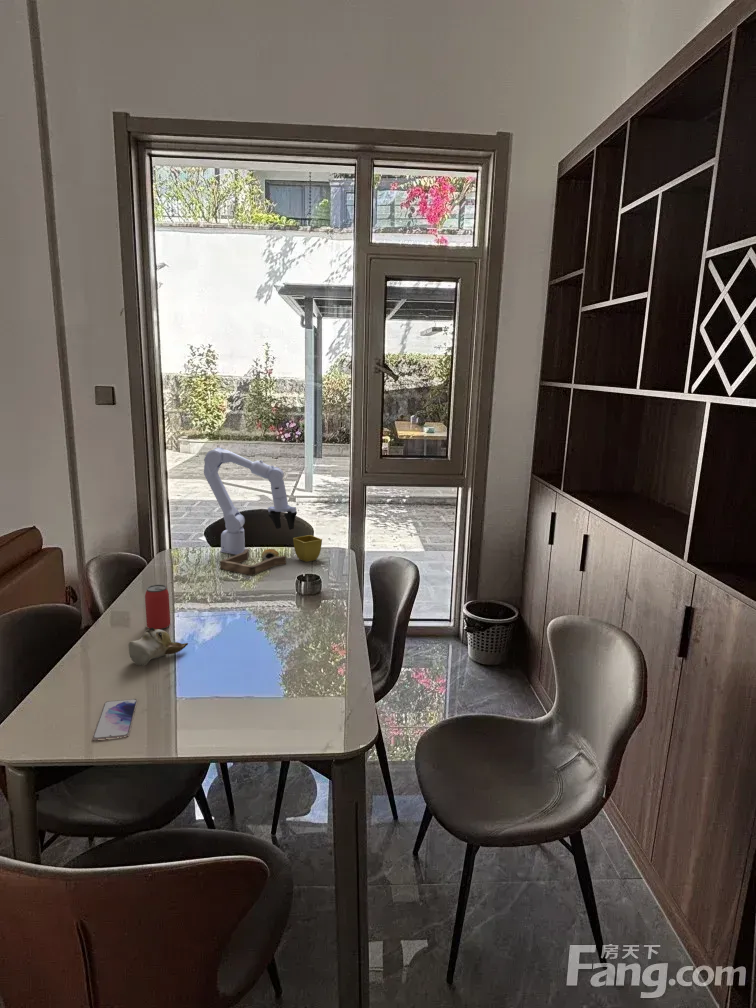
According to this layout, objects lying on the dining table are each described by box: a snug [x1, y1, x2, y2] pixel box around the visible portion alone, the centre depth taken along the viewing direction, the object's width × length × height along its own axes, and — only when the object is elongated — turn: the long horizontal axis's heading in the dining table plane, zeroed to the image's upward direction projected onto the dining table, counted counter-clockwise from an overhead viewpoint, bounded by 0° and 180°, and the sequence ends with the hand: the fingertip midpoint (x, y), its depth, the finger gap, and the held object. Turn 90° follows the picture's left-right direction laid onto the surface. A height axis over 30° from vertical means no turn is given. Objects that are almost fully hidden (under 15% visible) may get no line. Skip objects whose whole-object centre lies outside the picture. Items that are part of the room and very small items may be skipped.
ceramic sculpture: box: [128, 628, 189, 666], centre depth 159 cm, size 11×9×15 cm
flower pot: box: [292, 534, 323, 563], centre depth 245 cm, size 9×9×9 cm
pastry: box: [261, 548, 280, 561], centre depth 248 cm, size 9×7×4 cm
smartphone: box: [92, 698, 138, 741], centre depth 131 cm, size 7×1×15 cm
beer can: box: [144, 584, 171, 630], centre depth 178 cm, size 7×7×12 cm
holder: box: [219, 548, 287, 576], centre depth 237 cm, size 20×18×3 cm
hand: (285, 528), depth 253 cm, fingers open, 7 cm apart
